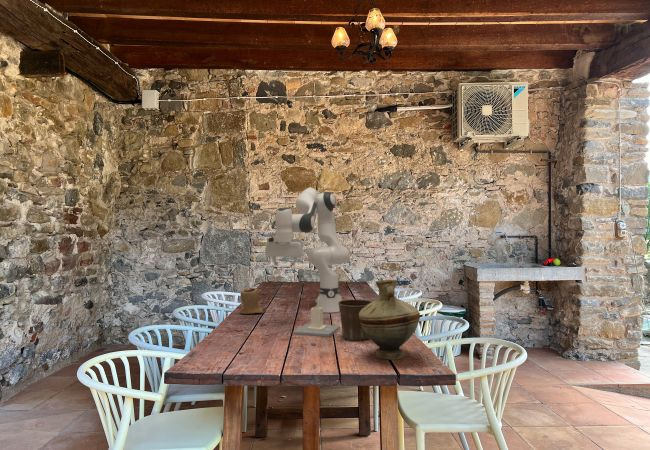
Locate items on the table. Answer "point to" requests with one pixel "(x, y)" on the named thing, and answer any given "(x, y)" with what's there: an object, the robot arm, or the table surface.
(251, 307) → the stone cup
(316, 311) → the collar
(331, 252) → the robot arm
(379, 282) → the brown ceramic vase
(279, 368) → the table surface
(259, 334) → the table surface
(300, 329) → the post plate
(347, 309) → the plant pot
